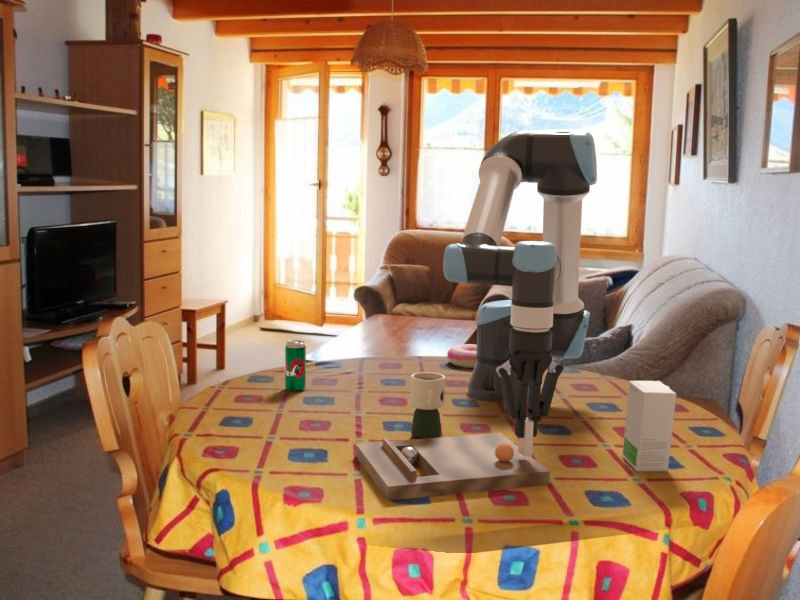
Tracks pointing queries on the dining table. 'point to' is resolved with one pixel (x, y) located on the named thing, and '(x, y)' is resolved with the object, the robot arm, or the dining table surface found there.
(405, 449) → the steel ball
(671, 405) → the skincare box
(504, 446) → the rust ball
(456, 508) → the dining table surface
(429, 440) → the walnut board
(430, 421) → the character mug
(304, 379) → the soda can
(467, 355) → the donut
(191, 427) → the dining table surface
